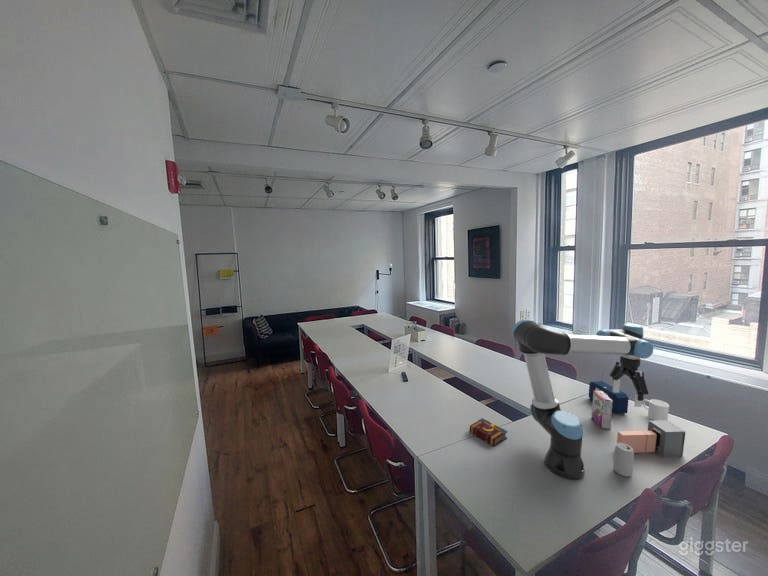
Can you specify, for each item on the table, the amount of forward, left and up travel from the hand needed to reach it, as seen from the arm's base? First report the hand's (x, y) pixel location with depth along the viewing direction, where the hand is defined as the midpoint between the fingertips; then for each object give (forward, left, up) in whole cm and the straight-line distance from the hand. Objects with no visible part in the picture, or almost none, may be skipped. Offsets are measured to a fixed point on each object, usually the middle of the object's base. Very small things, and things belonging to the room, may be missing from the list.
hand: (626, 399), depth 146 cm
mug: (+35, +22, -24) cm, 48 cm away
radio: (+18, +35, -24) cm, 46 cm away
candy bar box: (+2, +18, -24) cm, 30 cm away
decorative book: (-64, +10, -24) cm, 69 cm away
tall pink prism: (+2, -5, -24) cm, 24 cm away
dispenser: (+16, -5, -24) cm, 29 cm away
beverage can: (-15, -18, -24) cm, 33 cm away
